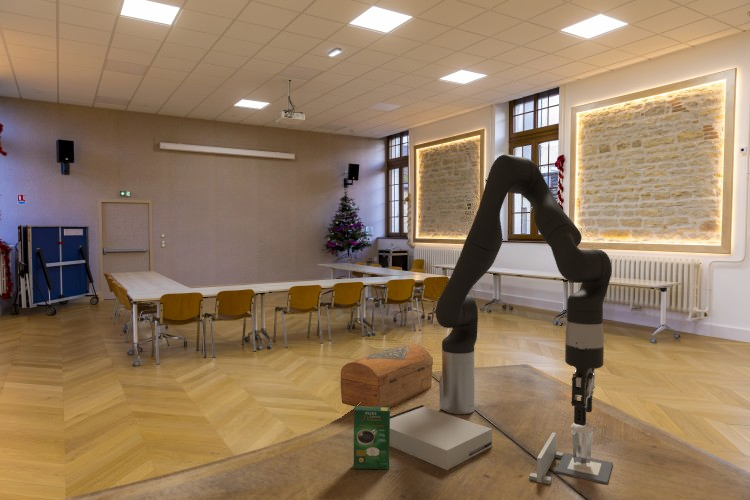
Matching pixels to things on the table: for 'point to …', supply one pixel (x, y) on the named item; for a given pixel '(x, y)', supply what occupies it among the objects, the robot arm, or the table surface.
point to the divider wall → (546, 460)
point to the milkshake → (582, 444)
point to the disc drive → (438, 436)
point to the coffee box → (371, 437)
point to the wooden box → (387, 377)
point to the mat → (585, 469)
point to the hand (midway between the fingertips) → (583, 417)
